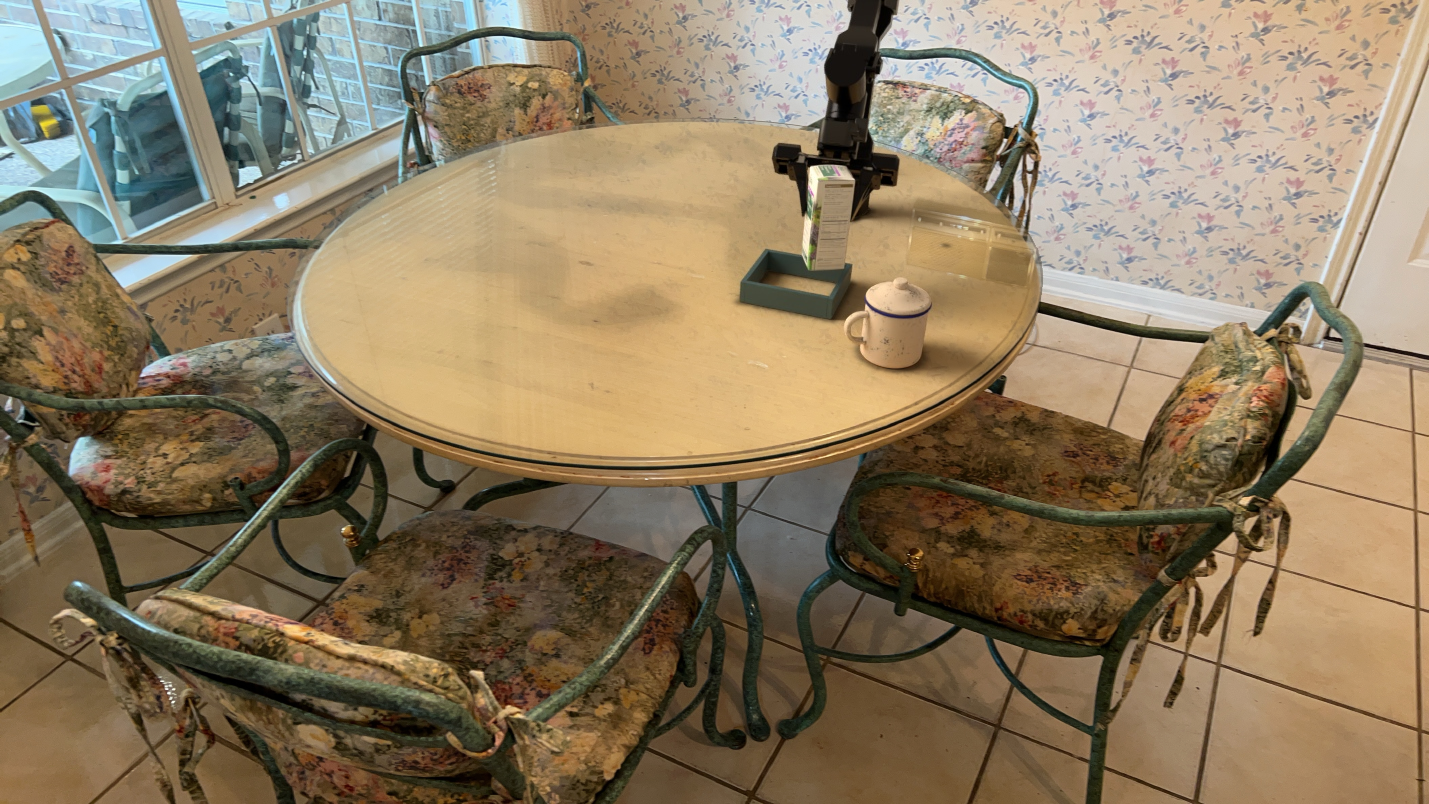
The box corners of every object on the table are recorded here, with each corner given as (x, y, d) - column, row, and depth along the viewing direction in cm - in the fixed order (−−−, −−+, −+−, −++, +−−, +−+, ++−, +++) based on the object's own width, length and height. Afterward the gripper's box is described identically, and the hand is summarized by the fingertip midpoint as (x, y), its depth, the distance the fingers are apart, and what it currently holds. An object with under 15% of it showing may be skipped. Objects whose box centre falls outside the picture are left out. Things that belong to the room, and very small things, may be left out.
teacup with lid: (906, 333, 133) (917, 261, 126) (933, 365, 126) (947, 292, 119) (829, 343, 130) (837, 270, 124) (853, 377, 123) (862, 302, 116)
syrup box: (800, 254, 141) (807, 164, 132) (837, 252, 141) (846, 163, 133) (808, 271, 136) (816, 180, 127) (846, 269, 137) (856, 178, 128)
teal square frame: (764, 267, 150) (765, 248, 148) (850, 283, 146) (852, 263, 143) (739, 301, 140) (740, 281, 138) (830, 319, 136) (833, 299, 134)
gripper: (777, 88, 130) (758, 189, 128) (908, 100, 127) (890, 204, 124) (784, 124, 141) (766, 218, 139) (905, 136, 137) (888, 233, 135)
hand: (826, 218), depth 134 cm, fingers closed on syrup box, 7 cm apart
